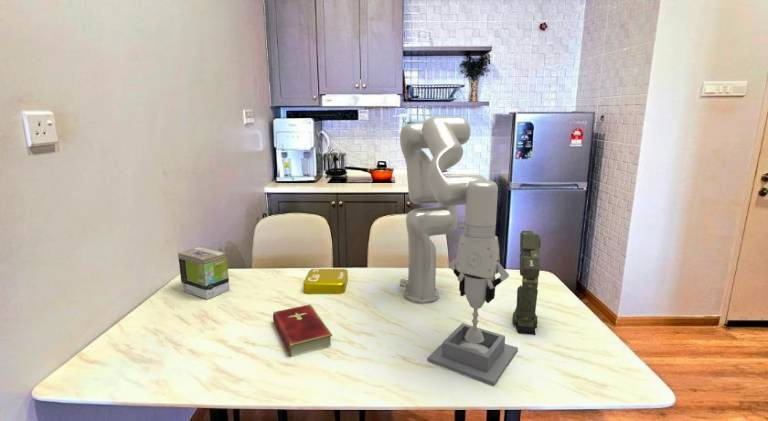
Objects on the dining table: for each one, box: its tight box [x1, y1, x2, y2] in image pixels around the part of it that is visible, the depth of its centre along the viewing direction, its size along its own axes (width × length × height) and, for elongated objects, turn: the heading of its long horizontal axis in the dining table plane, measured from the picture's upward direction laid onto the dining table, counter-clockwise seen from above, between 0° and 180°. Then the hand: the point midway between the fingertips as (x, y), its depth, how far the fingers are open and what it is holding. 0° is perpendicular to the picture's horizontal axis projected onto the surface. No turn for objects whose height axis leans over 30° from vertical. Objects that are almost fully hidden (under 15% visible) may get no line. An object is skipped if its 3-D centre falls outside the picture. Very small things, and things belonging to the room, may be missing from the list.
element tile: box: [303, 268, 349, 295], centre depth 156 cm, size 15×15×5 cm
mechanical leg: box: [512, 230, 542, 336], centre depth 125 cm, size 14×7×30 cm, turn 168°
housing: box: [426, 322, 519, 387], centre depth 110 cm, size 18×18×5 cm
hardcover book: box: [272, 303, 333, 357], centre depth 122 cm, size 12×21×4 cm, turn 26°
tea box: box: [177, 246, 230, 300], centre depth 151 cm, size 15×10×15 cm
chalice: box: [463, 274, 488, 343], centre depth 107 cm, size 7×7×18 cm
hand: (476, 297), depth 107 cm, fingers closed on chalice, 6 cm apart
